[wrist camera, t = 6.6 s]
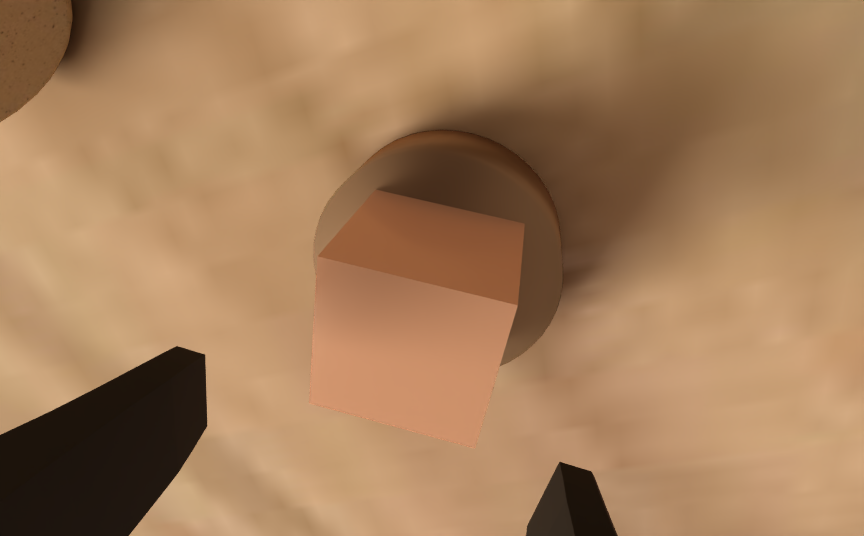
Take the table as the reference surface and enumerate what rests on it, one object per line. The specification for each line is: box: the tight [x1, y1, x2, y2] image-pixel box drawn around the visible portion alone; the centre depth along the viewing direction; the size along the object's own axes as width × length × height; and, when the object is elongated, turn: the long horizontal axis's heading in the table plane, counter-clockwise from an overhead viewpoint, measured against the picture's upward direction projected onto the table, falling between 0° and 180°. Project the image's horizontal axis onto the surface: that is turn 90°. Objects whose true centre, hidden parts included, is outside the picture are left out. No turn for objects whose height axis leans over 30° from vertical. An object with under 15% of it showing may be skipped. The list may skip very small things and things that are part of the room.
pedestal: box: [314, 130, 563, 366], centre depth 17 cm, size 8×8×3 cm
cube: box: [309, 190, 525, 448], centre depth 14 cm, size 4×4×4 cm
